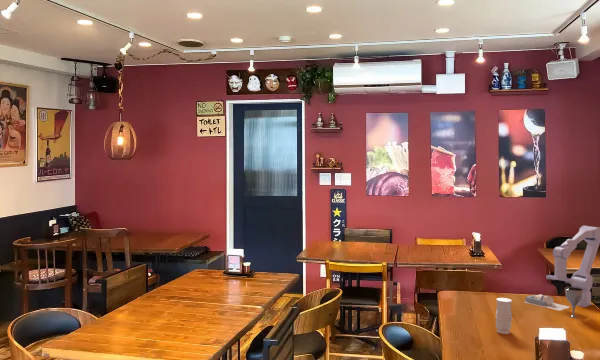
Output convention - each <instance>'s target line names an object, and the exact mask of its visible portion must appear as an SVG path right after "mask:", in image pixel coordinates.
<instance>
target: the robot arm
mask: <svg viewBox="0 0 600 360" xmlns="http://www.w3.org/2000/svg"><path fill="white" fill-rule="evenodd" d="M578 229H579V230H578V232H577V233H576V234H575V235H574V236H573V237H572V238H568V239H566V240H565V241H564V242H563V243H561V245H560V246H559V245H558V246H555V247H554V248H553V250H552V255H553V260H554V275H550V274H546V276H545V277H546V278H545V279H546V280H552V281H553V284H554V286H555V289H556V292H557V295H558V296H562V295H563V293H564V291H565V288H566V287H567V284H570V285H571V286H570V287H577V288H581V289H583V297H582V300H581V301H580V302H579V303H578V304H577V305H576V307H577V306H578V307H582V308H586V307H589V306H591V305H593V303H591V301H592V292H591V291H590V290H591V289H592V288H593V282H594V278H593V276H592V275H591V274H590V273H591V270H592V267H593V264H594V262H595V259H596V256H597V253H598V249H599V246H600V227H599V226H597V227H596V226H589V225H582V226H581V227H579V228H578ZM583 240H584V241H585V242H586V243H587V245H586V248H585V251H584V254H583V257H582V260H581V263H580V266H579V269H578V270H576V271H575V272H573V274H572V276H571V277H570V278H569V277H567V271H568V270H567V267H568V264H567V263H568V259H569V257H570V255H571V254H572V252H573V251H574V250H575V249H576V248H578V247H577V246H578V245H577V244H579V243H581V242H582V241H583Z"/></svg>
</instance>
